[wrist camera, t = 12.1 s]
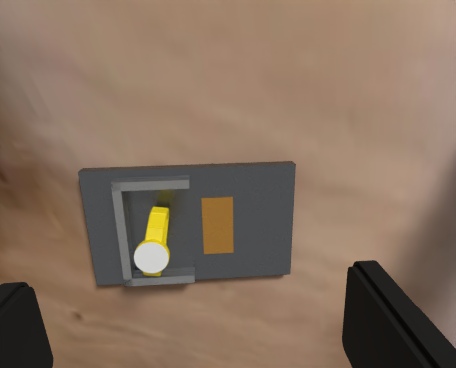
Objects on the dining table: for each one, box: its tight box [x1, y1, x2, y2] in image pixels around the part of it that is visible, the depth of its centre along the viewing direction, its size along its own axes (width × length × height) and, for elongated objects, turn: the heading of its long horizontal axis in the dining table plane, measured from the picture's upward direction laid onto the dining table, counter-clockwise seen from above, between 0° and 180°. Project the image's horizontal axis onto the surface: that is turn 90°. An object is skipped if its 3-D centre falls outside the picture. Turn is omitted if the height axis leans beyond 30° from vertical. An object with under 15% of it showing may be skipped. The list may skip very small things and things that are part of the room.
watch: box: [134, 207, 170, 276], centre depth 28 cm, size 6×3×6 cm, turn 172°
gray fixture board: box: [78, 161, 296, 287], centre depth 31 cm, size 20×12×3 cm, turn 91°
